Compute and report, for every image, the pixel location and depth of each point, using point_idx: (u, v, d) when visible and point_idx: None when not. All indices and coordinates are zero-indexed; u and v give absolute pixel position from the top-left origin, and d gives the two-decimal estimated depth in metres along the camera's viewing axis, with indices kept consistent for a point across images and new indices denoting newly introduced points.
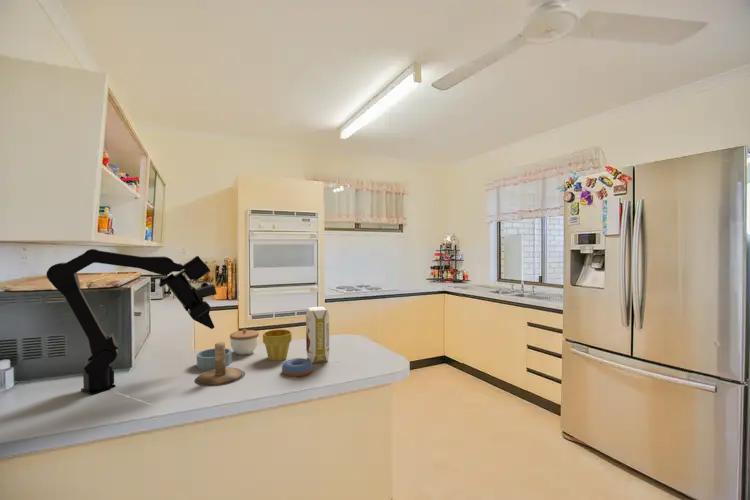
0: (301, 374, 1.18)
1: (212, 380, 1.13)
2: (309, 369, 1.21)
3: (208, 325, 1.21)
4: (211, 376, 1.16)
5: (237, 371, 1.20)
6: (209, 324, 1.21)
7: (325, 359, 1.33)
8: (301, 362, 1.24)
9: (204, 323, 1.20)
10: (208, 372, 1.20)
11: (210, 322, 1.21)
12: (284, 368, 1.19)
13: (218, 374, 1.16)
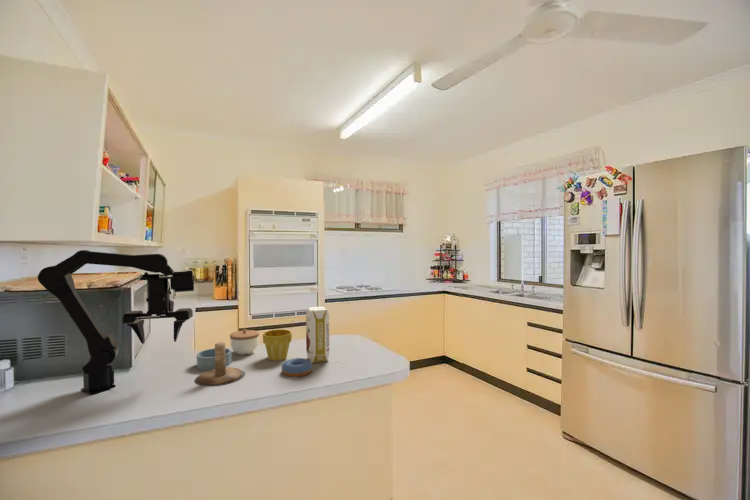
0: (301, 374, 1.18)
1: (212, 380, 1.13)
2: (309, 369, 1.21)
3: (177, 335, 1.17)
4: (211, 376, 1.16)
5: (237, 371, 1.20)
6: (177, 335, 1.17)
7: (325, 359, 1.33)
8: (301, 362, 1.24)
9: (178, 331, 1.16)
10: (208, 372, 1.20)
11: None
12: (284, 368, 1.19)
13: (218, 374, 1.16)
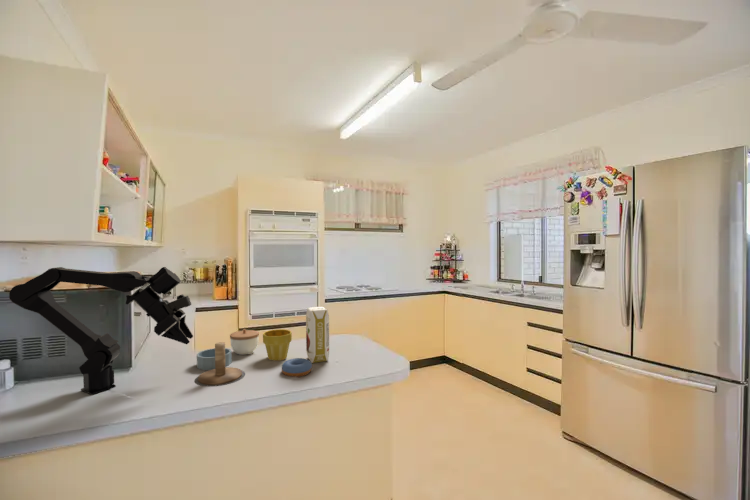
0: (301, 374, 1.19)
1: (212, 380, 1.13)
2: (309, 369, 1.21)
3: (181, 340, 1.10)
4: (211, 376, 1.16)
5: (237, 371, 1.20)
6: (182, 339, 1.10)
7: (325, 359, 1.33)
8: (301, 362, 1.24)
9: (176, 338, 1.09)
10: (208, 372, 1.20)
11: (183, 337, 1.10)
12: (284, 368, 1.19)
13: (218, 374, 1.16)
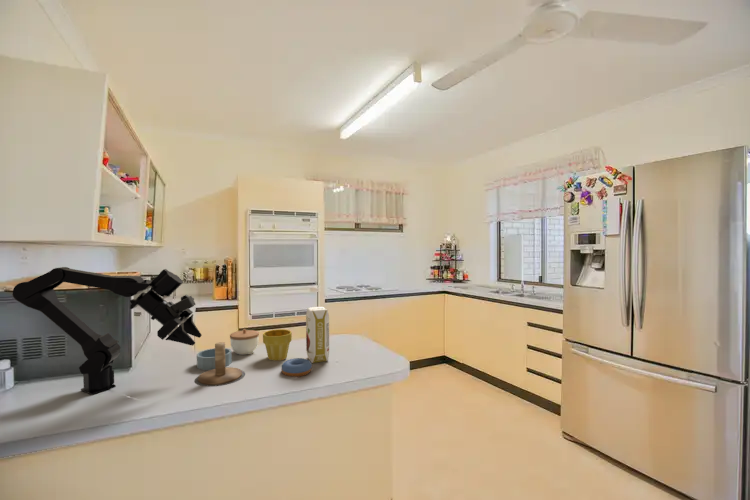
0: (300, 374, 1.19)
1: (212, 380, 1.13)
2: (308, 369, 1.21)
3: (186, 342, 1.10)
4: (211, 376, 1.16)
5: (237, 371, 1.20)
6: (187, 341, 1.10)
7: (325, 359, 1.33)
8: (300, 362, 1.24)
9: (181, 341, 1.09)
10: (208, 372, 1.20)
11: (188, 339, 1.10)
12: (283, 368, 1.19)
13: (218, 374, 1.16)
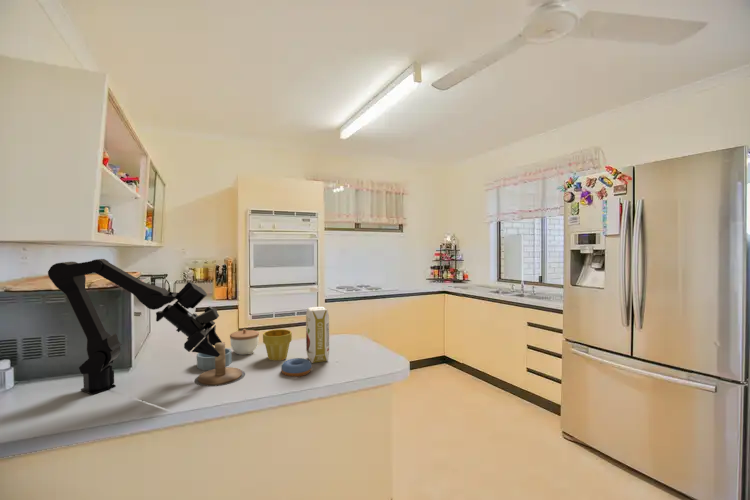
0: (300, 374, 1.19)
1: (212, 380, 1.13)
2: (308, 369, 1.21)
3: (211, 354, 1.12)
4: (211, 376, 1.16)
5: (237, 371, 1.20)
6: (212, 352, 1.12)
7: (325, 359, 1.33)
8: (300, 362, 1.24)
9: (206, 352, 1.11)
10: (208, 372, 1.20)
11: (213, 351, 1.12)
12: (283, 368, 1.19)
13: (218, 374, 1.16)
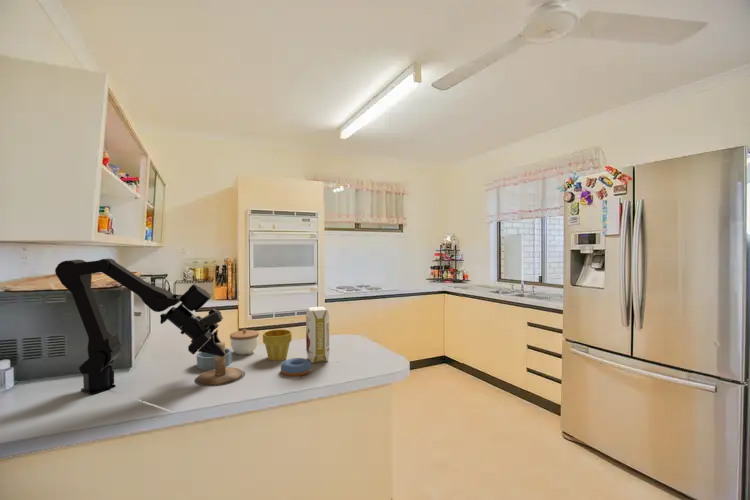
0: (300, 374, 1.19)
1: (212, 380, 1.13)
2: (308, 369, 1.21)
3: (217, 353, 1.15)
4: (211, 376, 1.16)
5: (237, 371, 1.20)
6: (218, 352, 1.15)
7: (325, 359, 1.33)
8: (300, 362, 1.24)
9: (212, 352, 1.14)
10: (208, 372, 1.20)
11: (219, 350, 1.15)
12: (283, 368, 1.20)
13: (218, 374, 1.16)
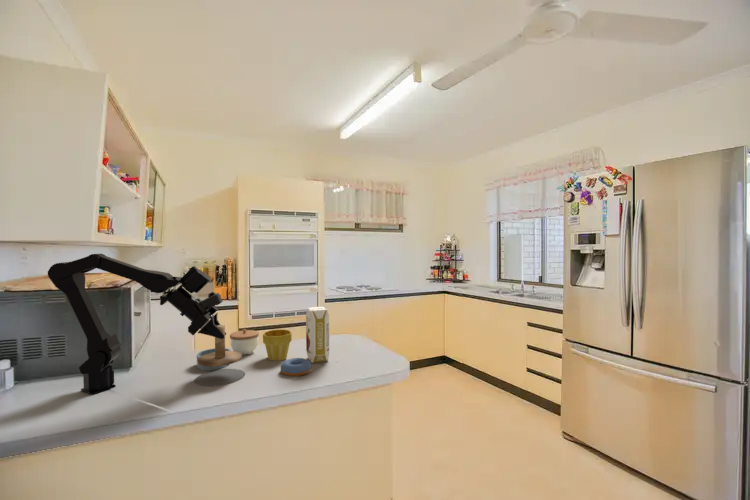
0: (300, 374, 1.19)
1: (212, 362, 1.13)
2: (308, 369, 1.21)
3: (217, 335, 1.15)
4: (211, 358, 1.16)
5: (237, 354, 1.20)
6: (217, 334, 1.15)
7: (325, 359, 1.33)
8: (300, 362, 1.24)
9: (211, 334, 1.14)
10: (208, 355, 1.19)
11: (219, 333, 1.15)
12: (283, 368, 1.20)
13: (218, 356, 1.16)
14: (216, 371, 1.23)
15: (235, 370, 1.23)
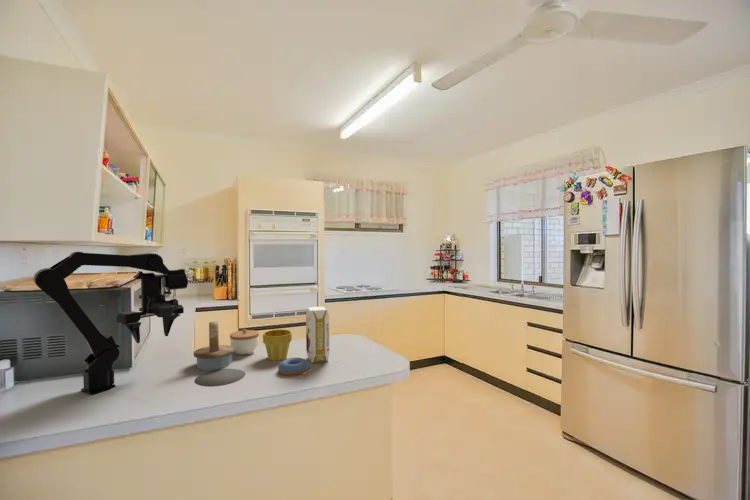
0: (297, 373, 1.19)
1: (212, 354, 1.25)
2: (305, 368, 1.21)
3: (134, 337, 1.15)
4: (207, 352, 1.27)
5: (227, 346, 1.34)
6: (134, 337, 1.15)
7: (325, 359, 1.33)
8: (297, 361, 1.25)
9: (131, 332, 1.15)
10: (199, 350, 1.29)
11: (135, 337, 1.15)
12: (280, 367, 1.20)
13: (214, 350, 1.28)
14: (216, 371, 1.23)
15: (235, 370, 1.23)
